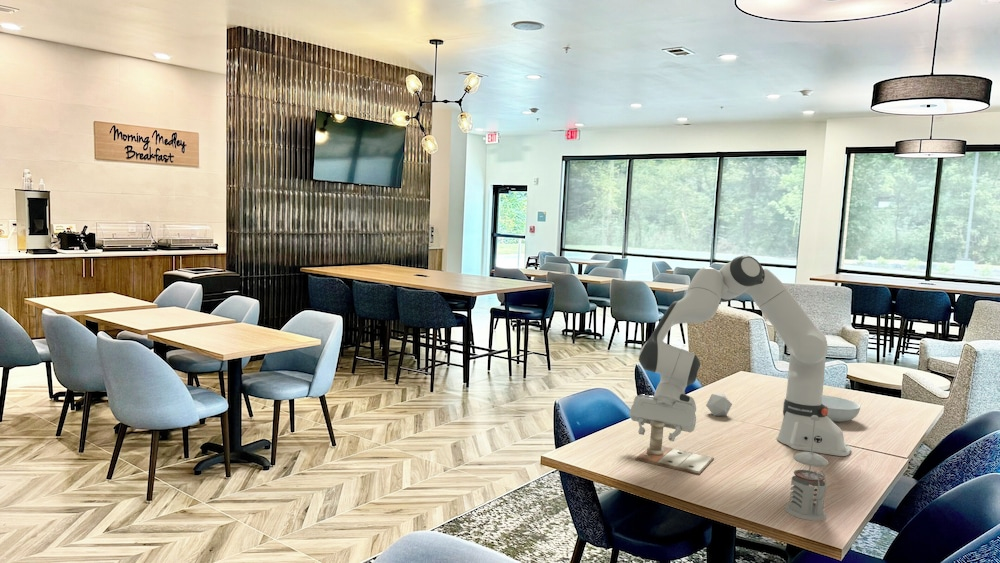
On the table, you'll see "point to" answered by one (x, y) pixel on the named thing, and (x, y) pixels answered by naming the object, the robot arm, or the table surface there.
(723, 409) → the die
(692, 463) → the game board
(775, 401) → the table surface
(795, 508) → the french press
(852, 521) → the table surface
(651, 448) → the beige flanged column
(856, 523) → the table surface
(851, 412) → the serving bowl
